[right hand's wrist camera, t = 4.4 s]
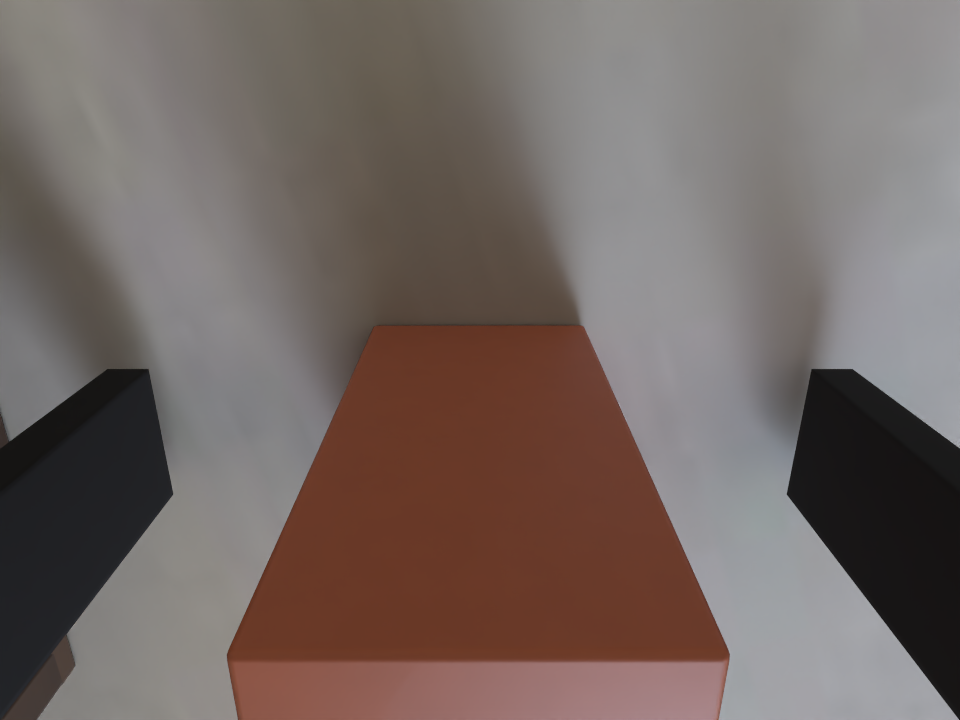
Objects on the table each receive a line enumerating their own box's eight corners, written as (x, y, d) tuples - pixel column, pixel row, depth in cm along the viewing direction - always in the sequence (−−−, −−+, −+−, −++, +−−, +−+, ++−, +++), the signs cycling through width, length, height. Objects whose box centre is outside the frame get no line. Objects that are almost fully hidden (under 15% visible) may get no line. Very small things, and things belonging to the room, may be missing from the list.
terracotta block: (373, 324, 13) (221, 656, 5) (584, 324, 13) (735, 654, 5) (383, 503, 14) (279, 960, 7) (573, 503, 14) (678, 959, 7)
